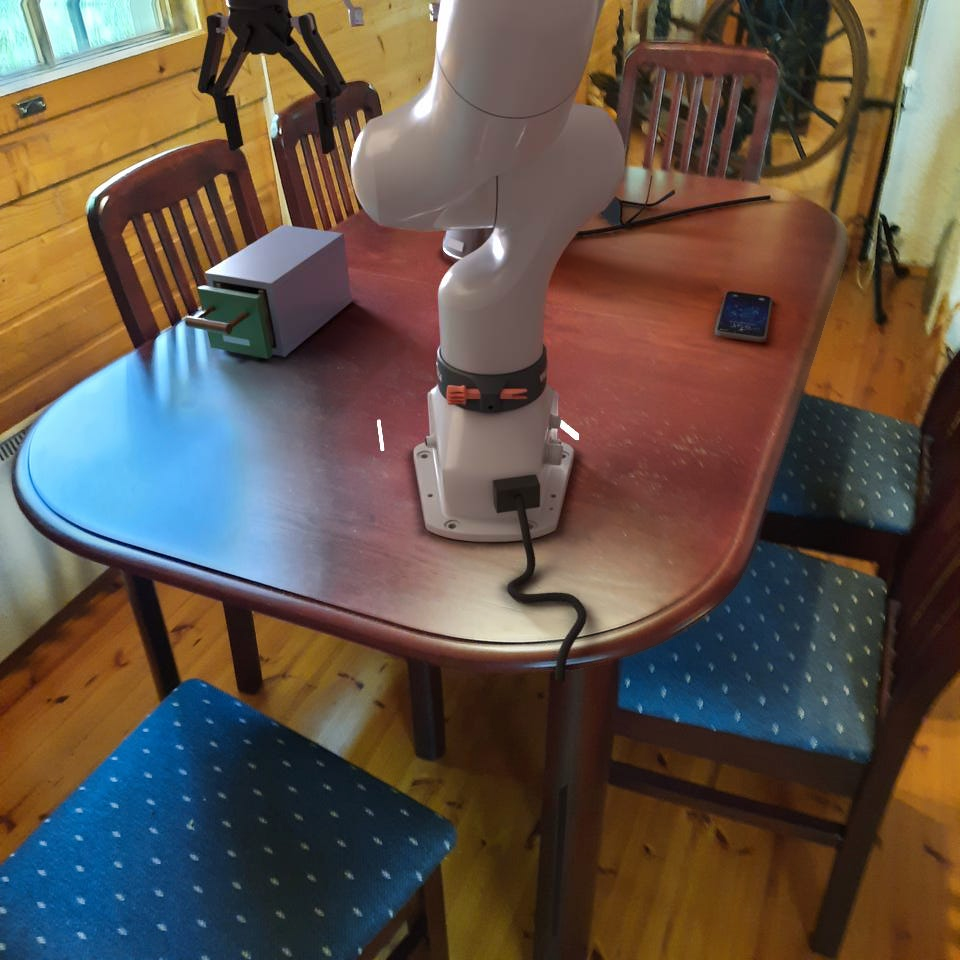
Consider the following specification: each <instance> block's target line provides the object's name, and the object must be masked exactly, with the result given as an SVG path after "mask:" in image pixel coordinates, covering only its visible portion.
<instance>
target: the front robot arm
mask: <svg viewBox="0 0 960 960" xmlns="http://www.w3.org/2000/svg"><path fill="white" fill-rule="evenodd" d="M342 2H343V4H344V5H345V7H346V9H347V10H348V11H347V13H348V21H349V26H350V27H352V28H355V27H364V26H365V23H364V19H363V17H364V11H363V8H362V7H361V6H354V5H353V3H352V2H351V0H342ZM428 5H429V10H430V13H429V18H430V22H432V23H433V22H434V23H435V22H437V24H436V37H435V53H434V64H433V70H432V76H431V78H430V80H429V81H428V82H427V84H425V86H424V87H422V88H421V90H419V92H417V93H416V94H415V95H414V96H412V97H411V98H410V99H409V100H408V101H406V102H404V103H403V104H401V105H400V106H398V107H396V108H394V109H392V110H390V111H389V112H386V113H384V114H381V115H378V116H376V117H374V118H371V119H369V120H368V121H367V123H366V124H365V125H363V127H362V129H361V130H360V132H359V134H358V136H357V138H356V140H355V143H354V145H353V149H352V153H351V159H350V175H351V183H352V187H353V190H354V193H355V196H356V198H357V200H358V202H359V204H360V205H361V208H362V209H363V210H364V212H365V213H366V214H367V216H369V218H370V219H371V220H372V221H373V222H375V223H376V224H377V225H378V226H380V227H387V228H393V229H399V230H407V231H415V232H426V233H430V232H445V231H446V232H447V230H462V229H476V228H491V227H492V228H495V229H494V231H493V233H492V235H491V236H490V237H489V239H488V240H487V241H486V242H485V243H484V244H483V245H482V246H481V247H480V248H478V249H477V250H476V251H474V252H472V253H470V254H469V255H467V256H465V257H463V258H462V259H460V260H459V261H457V262H456V263H455V264H454V263H453V265H452V266H451V267H450V268H449V269H448V270H447V272H446V273H445V274H444V275H443V277H442V278H441V281H440V283H439V286H438V290H437V307H438V324H439V326H438V327H439V340H440V341H439V342H440V345H439V346H438V348H437V354H436V356H437V358H436V363H435V364H436V376H437V384H436V385H435V387H434V386H433V388H432V389H431V390H430V391H428V392H427V406H428V407H427V409H428V424H429V435H426V436H425V438H424V442H422V443H419V444H417V445H416V446H415V447H414V448H413V454H412V455H413V457H412V458H413V464H414V470H415V475H416V476H415V477H416V480H417V487H418V492H419V498H420V499H419V500H420V503H421V504H420V505H421V510H422V516H423V522H424V526H425V529H426V530H427V531H428V532H429V533H432V534H434V535H437V536H440V537H443V538H448V539H452V540H457V541H466V542H477V543H478V542H480V543H500V542H501V543H502V542H503V543H506V542H518V541H522V542H523V543H522V544H523V547H524V552H525V556H526V567H525V570H524V572H523V573H522V574H521V575H520V576H518V577H516V578H514V579H513V580H511V581H510V582H508V584H507V587H506V591H507V594H508V595H509V596H510V597H511V598H512V599H513V600H515V601H516V602H520V603H524V604H536V603H537V604H538V603H551V602H562V603H567V604H569V605H571V606H572V607H573V608H574V610H575V612H576V616H577V618H576V620H575V622H574V624H573V625H572V627H571V628H570V629H569V631H568V633H567V634H566V636H565V637H564V638H563V641H562V643H561V645H560V648H559V650H558V653H557V657H556V662H555V663H556V664H555V679H554V680H555V681H556V682H557V683H558V684H561V683H564V682H565V680H566V668H567V660H568V656H569V653H570V652H571V649H572V647H573V645H574V643H575V641H576V640H577V638H578V636H579V635H580V634H581V632H582V630H583V629H584V627H585V625H586V622H587V616H588V615H587V614H588V613H587V610H586V608H585V605H584V604H583V603H582V602H581V600H580V599H578V598H577V597H576V596H575V595H573V594H570V593H568V592H567V593H566V592H557V591H555V592H540V593H523V592H520V591H518V590H517V588H519V587H520V586H522V585H525V583H527V582H529V581H530V580H531V579H532V577H533V576H534V574H535V570H536V554H535V549H534V545H533V541H532V539H536V538H539V537H543V536H546V535H548V534H550V533H552V532H554V531H556V530H557V527H558V525H559V520H560V518H561V517H560V516H561V512H562V508H563V504H564V500H565V497H566V492H567V488H568V483H569V480H570V476H571V472H572V469H573V468H572V467H573V464H574V459H575V450H574V447H573V446H571V445H570V444H568V443H566V442H563V441H561V439H560V438H558V430H560V429H562V430H563V431H565V432H566V433H567V434H568V435H570V436H571V437H572V439H574V440H576V441H577V440H578V441H579V439H580V438H579V437H580V435H579V433H578V432H577V431H575V429H573V428H572V427H570V425H568V424H567V423H566V422H565V421H563V420H562V416H559V392H557V391H556V390H555V389H554V388H553V387H552V386H551V385H550V384H549V383H548V382H547V379H548V367H549V361H548V356H547V355H548V354H547V353H548V351H547V347H546V345H545V344H544V330H545V329H544V327H545V316H546V305H547V298H548V292H549V291H548V290H549V286H550V281H551V279H552V275H553V273H554V271H555V269H556V266H557V264H558V262H559V260H560V258H561V256H562V255H563V253H564V252H565V251H566V250H565V249H566V248H567V247H568V245H570V243H571V241H572V240H573V239H574V238H575V237H576V236H575V235H576V234H577V233H578V232H579V231H582V229H583V228H584V227H585V226H586V225H587V224H588V223H589V222H590V221H592V220H593V219H594V218H595V217H597V216H599V215H600V214H599V213H601V212H602V211H604V210H605V209H606V207H607V206H608V205H609V204H610V203H611V201H612V200H613V199H614V197H615V196H617V193H618V191H619V190H620V188H621V187H620V186H621V184H622V182H623V178H624V175H625V169H626V149H625V143H624V139H623V136H622V134H621V131H620V129H619V127H618V125H617V124H616V122H615V120H614V119H613V117H612V116H611V115H610V114H609V113H608V112H607V111H606V110H605V109H604V108H603V107H599V106H594V105H590V104H589V105H588V104H584V103H579V102H575V100H576V97H577V94H578V91H579V88H580V85H581V83H582V80H583V77H584V74H585V71H586V68H587V65H588V62H589V58H590V55H591V51H592V47H593V43H594V39H595V34H596V30H597V27H596V23H597V17H598V9H599V0H436V1H435V2H429V3H428ZM595 29H596V30H595ZM377 429H378V436H379V437H378V439H379V445H380V451H381V452H382V451H385V447H384V440H383V432H382V425H381V419H378V420H377ZM568 790H569V784H568V783H566V785H564V786H563V787H561V789H559V790H558V807H557V826H556V845H555V860H554V873H553V874H554V875H553V887H552V889H553V890H552V903H551V904H552V905H551V922H550V924H551V925H550V935H551V936H553V937H557V936H558V935H559V925H560V911H561V909H560V908H561V896H562V880H563V869H564V857H565V856H564V855H565V846H566V845H565V843H566V832H567V831H566V830H567V813H568V811H567V810H568V795H569V791H568Z"/></svg>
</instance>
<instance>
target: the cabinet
mask: <svg viewBox="0 0 960 960" xmlns="http://www.w3.org/2000/svg"><path fill="white" fill-rule="evenodd" d="M347 257H348V256H347V249H346V241H345V234H344V232H339V231H329V230H322V229H315V228H307V227H301V226H294V225H288V224H287V225H286V224H282V225H280V226H279V227H277V228H275V229H274V230H272V231H270V232H269V233H267V234H265V235H264V236H262V237H260V238H258V239H257V240H256V241H254V242H252V243H251V244H249V245H247V246H246V247H244V248H243V249H241V250H239V251H238V252H236V253H234V254H233V255H230V256H229V257H228V258H226V259H224V260H223V261H221V262H220V263H218V264H216V265H215V266H213V267H212V268H210V269H208V270H207V271H205V272H204V275H205V279H206V283H207V284H206V285H207V286H210V287H216V283H218V282H224V283H230V284H236V285H242V286H248V287H254V288H260V289H266V291H267V297H268V302H269V308H270V313H271V318H272V324H273V329H274V335H275V340H276V344H275V345H273V346H271V349H272V354H273V355H272V356H278V357H283V358H285V357H286V356H288V355H289V354H290V353H291V352H293V351H294V350H295V349H296V348H297V347H299V346H300V345H301V344H302V343H304V341H306V340H307V339H308V338H310V337H311V336H312V335H313V334H315V333H316V332H317V331H318V330H319V329H320V328H322V327H323V326H325V324H326V323H328V322H329V321H330V320H332V319H333V318H334V317H335V316H336V315H338V314H339V313H340V312H341V311H342V310H344V309H345V308H346V307H348V305H350V304H351V303H352V302H353V298H352V292H351V283H350V282H351V281H350V275H349V274H350V273H349V265H348V258H347Z"/></svg>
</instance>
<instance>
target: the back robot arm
mask: <svg viewBox="0 0 960 960" xmlns="http://www.w3.org/2000/svg"><path fill="white" fill-rule="evenodd" d="M225 2H226V6H227V7H228V15H224V14H223V13H222V12H215V13H213V14H210V15H208V16H207V17H206V28H207V29H206V30H207V39H206V44H205V48H204V52H203V59H202V63H201V67H200V71H199V77H198V83H197V91H198V92H199V93H200V94H206V95H208V96H211V97H212V99H213V101H214V106H215V110H216V116H217V120H218V122H219V123H220V124H224V129H225V134H226V138H227V144H228V148H229V151H231V152H232V151H233V152H234V151H237V150H238V149H240V148H241V147H243V146H244V145H245V144H244V140H243V135H242V129H241V125H240V119H239V114H238V109H237V108H238V107H237V104H236V97H235V95H234V94H230V89H231V87H232V85H233V83H234V82H235V79H237V76H238V74H239V72H240V70H241V68H242V66H243V64H244V63H245V61H246V58H247V57H248V55H249V54H251V56H257V55H262V54H265V55H268V56H275V55H277V54H279V55H280V56H281V58H283V59H284V60H286V61H287V62H288V63H289V64H290V65H291V66H292V67H293V69H294V70H295V71H296V72H297V73H298V75H299V76H300V77H301V78H302V79H303V80H304V81H305V82H306V84H307V85H308V86H309V87H310V88H311V89H312V91H313V92H314V93H315V94H316V96H318V98H319V99H318V100H316V101H315V102H314V103H315V111H316V118H317V124H318V125H317V126H318V132H319V139H320V146H321V153H322V155H329V154H330V153H331V152H333V151H334V150H335V149H336V145H335V137H334V129H333V127H335V126H337V124H338V112H337V105H336V98H337V97H340V96H342V95H343V94H344V93H346V92H347V91H348V90H349V86H348V84H347V82H346V79H345V78H344V76H343V75H342V73H341V71H340V69H339V67H338V65H337V64H336V62H335V60H334V58H333V56H332V55H331V53H330V51H329V49H328V47H327V45H326V44H325V42H324V40H323V38H322V36H321V34H320V33H319V30H318V25H317V21H316V17H315V15H314V13H312V12H306V13H304V14H302V15H295V16H292V14H291V11H290V9H289V0H225ZM605 2H606V0H599V9H598V17H597V23H596V29H595V31H596V30H597V27H598V25H599V21H600V18H601V15H602V13H603V9H604V5H605ZM229 29H230V31H231V32H232V34H234V36H235V37H236V40H235V42H234V43H233V45H232V47H231V49H230V54H229V56H228V58H227V59H226V62H225V64H224V65H223V67H222V69H221V71H220V73H219V68H220V63H221V58H222V54H223V49H224V45H225V41H226V34H227V33H228V32H229ZM294 29H295V30H296V32H297V33H298V35H300V36H301V37H302V40H303V42H304V44H305V45H306V48H307V50H308V51H309V53H310V55H311V57H312V58H313V60H314V62H315V64H316V66H317V67H318V68H317V67H316V66H315V65H314V64H313V62H312V61H311V60H310V59H309V58H308V56H307V55H306V54H305V53H304V52H303V51H302V49H301V45H299V43H298V42H297V41H296V39H294V38H293V36H292V33H293V30H294ZM218 73H219V75H218ZM771 198H772V197H771V195H770V194H769V195H768V194H767V195H759V196H753V197H746V198H738V199H732V200H726V201H720V202H715V203H708V204H704V205H699V206H694V207H689V208H685V209H684V208H683V209H680V210H676V211H671V212H667V213H662V214H658V215H655V216H650V217H646V218H642V219H638V220H633V221H632V222H629V223H627V224H624V225H612V226H606V227H601V228H595V229H587V230H586V229H585V230H580V231H579V232H578V233H577V234H576V235H575V236H574V237H583V236H589V235H596V234H597V235H598V234H602V233H607V232H608V233H609V232H614V231H619V230H624V229H628V228H631V227H635V226H640V225H644V224H649V223H653V222H657V221H660V220H664V219H668V218H673V217H677V216H681V215H685V214H691V213H695V212H699V211H700V212H701V211H705V210H709V209H715V208H721V207H726V206H731V205H733V206H734V205H740V204H747V203H754V202H760V201H769V200H771ZM494 229H495V228H492V227H491V228H476V229H462V230H447V231H446V232H445V235H444V237H443V240H442V255H443V257H444V258H445V259H446V260H447V261H448V262H450V263H452V264H453V265H454V264H455V263H456V262H457V261H459V260H460V259H462V258H463V257H465V256H467V255H469V254H470V253H472V252H474V251H476V250H477V249H478V248H480V247H481V246H482V245H483V244H484V243H485V242H486V241H487V240H488V239H489V237H490V236H491V235H492V233H493V231H494Z"/></svg>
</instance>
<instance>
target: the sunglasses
mask: <svg viewBox="0 0 960 960" xmlns="http://www.w3.org/2000/svg"><path fill="white" fill-rule="evenodd" d="M652 181H653V175H650V178H649V184H648V191H647V196H646V200H645V202H644V203H641V202H635V201H629V200H623V199H620V198H619V197H617V195H615V197H614V199H613V200H612V201H611V203H610V204H609V205H608V206H607V207H606V209H605V210H604V211H602V212H601V213H599V214H598V215H599V216H601V218H603V219H604V220H605V221H607V222H608V223H609V224H611V225H613V226H616V225H624V224H627V223H629V222H633V221H635V219H636V218H638V217H639V216H640V214H642V212H643V211H644V210H645V209H646V208H652V207H656V206H658V205H659V204H660V205H661V203H664V202H665V201H666V200H668V199H669V198H671V197H673V196H675V194H676V189H672V190H671V191H670V192H668V193H667V194H666V195H664V196H663V197H661V198H660V199H658V200H657V201H655V202H652V203H648V202H649V198H650V197H649V196H650V192H651V187H652ZM623 205H629V206H635V207H641V208H640V209H639V210H638V211H637V212H636V213H635V214H634V215H633V216H631V217H630V218H629V219H628V220H626V221H625V222H624V221H623V215H624V208H623V207H624V206H623Z"/></svg>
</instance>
